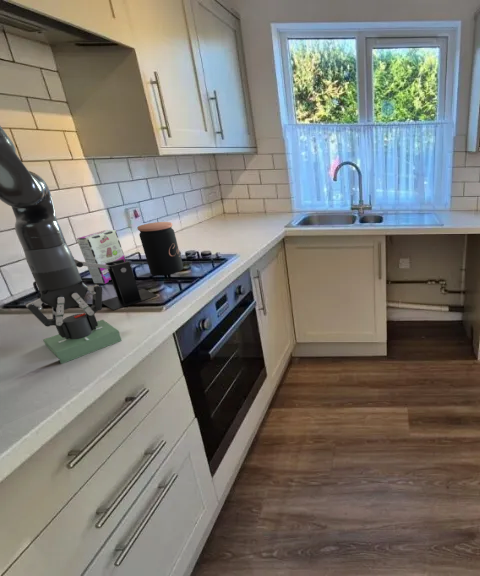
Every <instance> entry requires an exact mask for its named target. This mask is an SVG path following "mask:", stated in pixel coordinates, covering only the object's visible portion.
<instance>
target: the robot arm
mask: <svg viewBox="0 0 480 576" xmlns="http://www.w3.org/2000/svg"><path fill="white" fill-rule="evenodd" d="M0 201H1V202H3V203H4V204H5V205H7V206H10V207H11V210H12V212H13V215H14V217H15V222H14V229H15V233H16V236H17V239H18V241H19V242H20V245H21V247H22V250H23V252H24V257H25V260H26V263H27V266H28V268H29V270H30V273H31V274H32V278H33V279H34V282H35V284H36V287H37V288H38V292H39V296H38V298H37V299H35V300H33V301H31V302H30V301H27V302H26V303H25V305H24V307H25V308H26V309H28V310H29V312H31V313H32V315H33V316H35V317H36V318H37V320H38V321H40V322H41V323H42V325H44V326H45V327H46V328H47V327H51V326H55V329H56V330H57V334H59V335H60V336H61V337H62V338H64V337H65V338H66V339H69V338H70V335H69V333H68V330H67V328H66V326H65V324H64V323H63V319H64V316H65V311H66V310H69V309H71V308H75V307H79V308H80V309H81V310H82V311H83V313H85V314H86V316H87V318H88V321H89V323H90V326H91V328H92V330H94V329H96V326H98V323H97V321H98V320H97V318H96V313H97V312H98V311H101V310H103V304H102V301H103V287H102V286H100V284H96V283H93V285H86V284H85V283H84V282H83V279H82V277H81V274H80V271H79V268H78V267H77V266H76V263H75V259H76V258H75V256H74V255H73V253H72V251H71V249H70V247H69V245H68V243H67V241H66V238H65V236H64V233H63V231H62V228H61V225H60V224H59V222H58V219H57V216H56V215H57V213H56V209H55V205H54V201H53V198H52V194H51V191H50V188H49V186H48V184H47V182H46V180H44V179H43V178H42V176H40V175H39V174H37V173H35V172H33V171H31V170H29V169H28V168H27V167H26V165H25V164H24V163H23V162H22V160H21V159H20V158H19V156H18V154H17V153H16V146H15V144H14V143H13V141H12V140H11V138H10V137H9V136H8V134H7V133H6V131H5V130H4V128H2V126H1V125H0ZM88 292H89V294H90V295H91V297H92V299H91V301H92V302H91V303H92V304H91V306H90V305H89V304H88V303H87V302H86V301H85V300H84V299H85V297H86V294H87V293H88ZM43 304H45V305H47V306H49V307H51V314H52V318H48V317H47V316H46V315H45V314H44V313H43V312H42V310H43Z"/></svg>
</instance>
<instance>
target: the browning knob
mask: <svg viewBox="0 0 480 576" xmlns="http://www.w3.org/2000/svg"><path fill="white" fill-rule="evenodd" d="M63 323H64V324H65V326H66V328H67V330H68V333H69V335H70V339H79V338H83V337H86V336H88V335H90V334H91V333H92V332H93V331H92V328H91V326H90V323H89V321H88V318H87V316H86V313H85V312H83V313H75V314H72V315H69V316H66V317H65V318H63Z"/></svg>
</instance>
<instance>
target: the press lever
mask: <svg viewBox="0 0 480 576" xmlns="http://www.w3.org/2000/svg"><path fill="white" fill-rule="evenodd" d="M74 259H75V263H76V266H77V268H83V267H87V266H88V267H96V268H105V269H112V267H111V265H104V264H96V263H88V262H85V261H79V260H77V259H76V258H74ZM115 264H118V263H113V265H115ZM88 267H87V268H88ZM112 271H113V270H112Z"/></svg>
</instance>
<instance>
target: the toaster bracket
mask: <svg viewBox="0 0 480 576" xmlns="http://www.w3.org/2000/svg"><path fill="white" fill-rule="evenodd" d="M113 263H118V264H115V265H113ZM106 265H111V267H112V269H108V272H109V274H110V277H111V280H112V281H111V283H112V286H113V289H114V291H115V295H116V296H115V297H111V298H108V299H105V300H102V305H104V306H105V307H107V308H109V309H110V310H111V311H117V310H119V309H123V308H126V307H128V306H132V305H135V304H138V303H141V302H144V301H147V300H150V299H154V298H156V297H158V294H155V293H154V292H151V291H149V290H147V289H145V288H141V289H139V288H138V285H137V281H136V279H135V275H134V271H133V269H132V265H131V262H130V261H126V262H124V260H123V259H121V260H116V261H112V262H108V263H106ZM112 270H113V271H112Z"/></svg>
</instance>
